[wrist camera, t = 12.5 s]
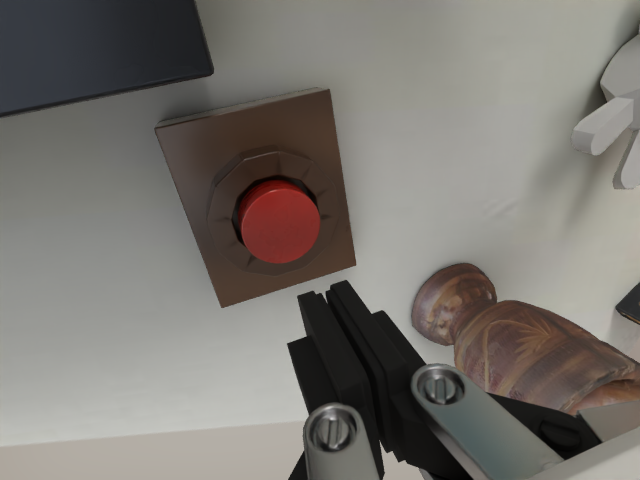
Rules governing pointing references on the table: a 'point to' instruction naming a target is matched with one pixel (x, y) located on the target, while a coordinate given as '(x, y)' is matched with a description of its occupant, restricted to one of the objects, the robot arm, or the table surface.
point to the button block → (251, 170)
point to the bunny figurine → (616, 115)
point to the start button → (278, 221)
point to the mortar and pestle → (521, 345)
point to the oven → (95, 50)
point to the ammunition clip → (631, 305)
